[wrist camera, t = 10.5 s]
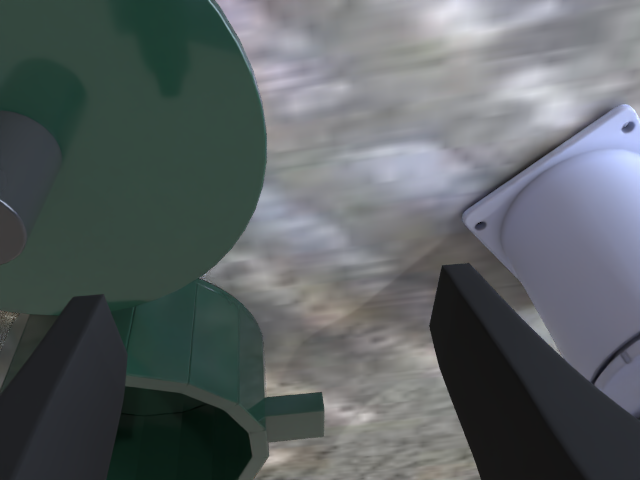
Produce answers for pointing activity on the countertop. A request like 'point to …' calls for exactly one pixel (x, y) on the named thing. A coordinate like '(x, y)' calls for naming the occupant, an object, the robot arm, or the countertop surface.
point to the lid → (121, 149)
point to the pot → (188, 388)
